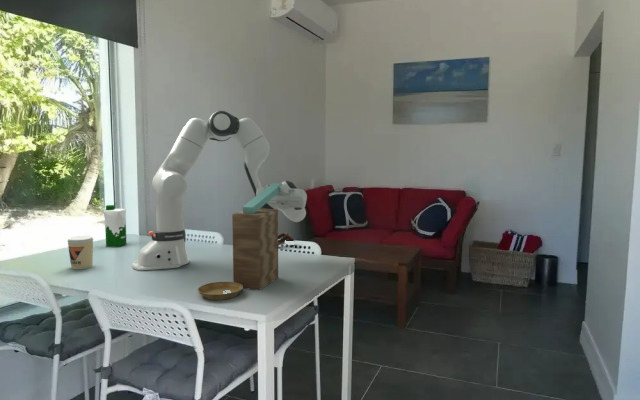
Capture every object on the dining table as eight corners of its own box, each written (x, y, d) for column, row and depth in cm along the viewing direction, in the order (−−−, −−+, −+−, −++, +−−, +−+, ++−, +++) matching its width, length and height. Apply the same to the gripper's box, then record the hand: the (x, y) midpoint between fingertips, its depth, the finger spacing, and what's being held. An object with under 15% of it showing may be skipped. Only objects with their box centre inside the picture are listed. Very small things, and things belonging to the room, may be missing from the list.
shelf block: (254, 275, 179) (253, 208, 176) (278, 277, 176) (277, 209, 173) (233, 286, 164) (232, 213, 161) (259, 289, 161) (258, 215, 158)
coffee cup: (63, 268, 188) (61, 239, 187) (82, 263, 197) (81, 235, 196) (81, 270, 185) (79, 240, 184) (99, 265, 194) (98, 236, 192)
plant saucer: (188, 298, 152) (188, 290, 152) (215, 286, 166) (215, 279, 165) (226, 304, 146) (225, 296, 146) (251, 291, 160) (251, 284, 160)
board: (273, 188, 185) (273, 182, 185) (282, 188, 184) (282, 183, 183) (243, 213, 163) (242, 206, 162) (253, 213, 161) (252, 207, 160)
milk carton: (111, 243, 237) (109, 204, 235) (129, 243, 237) (127, 204, 235) (103, 247, 228) (101, 206, 226) (121, 247, 228) (119, 206, 226)
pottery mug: (296, 250, 226) (288, 236, 223) (279, 258, 228) (271, 244, 225) (298, 239, 237) (290, 226, 234) (281, 246, 239) (273, 233, 236)
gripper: (265, 193, 197) (251, 178, 185) (310, 195, 191) (299, 180, 179) (262, 207, 195) (248, 193, 183) (307, 209, 188) (296, 195, 176)
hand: (274, 186), depth 181 cm, fingers closed on board, 4 cm apart
